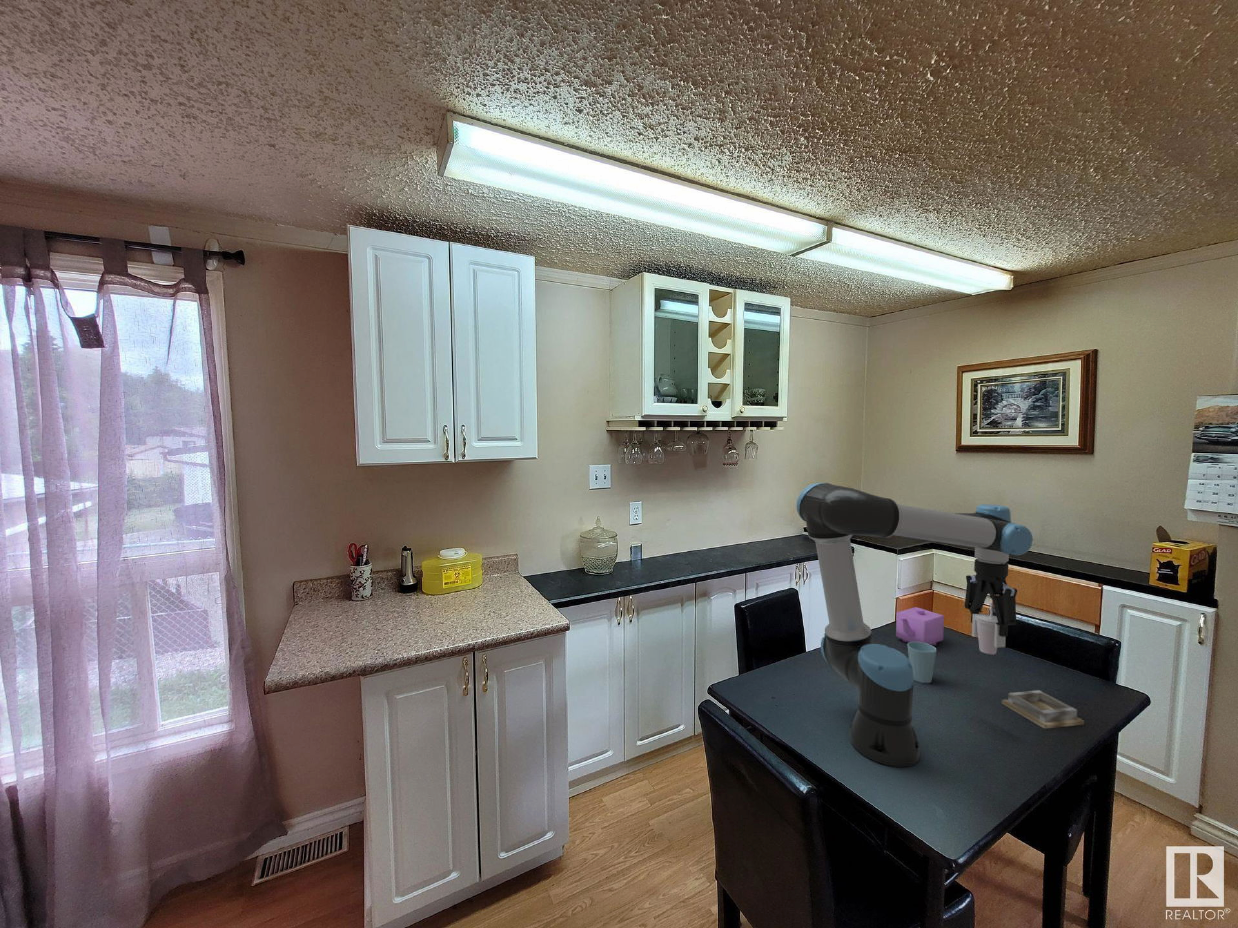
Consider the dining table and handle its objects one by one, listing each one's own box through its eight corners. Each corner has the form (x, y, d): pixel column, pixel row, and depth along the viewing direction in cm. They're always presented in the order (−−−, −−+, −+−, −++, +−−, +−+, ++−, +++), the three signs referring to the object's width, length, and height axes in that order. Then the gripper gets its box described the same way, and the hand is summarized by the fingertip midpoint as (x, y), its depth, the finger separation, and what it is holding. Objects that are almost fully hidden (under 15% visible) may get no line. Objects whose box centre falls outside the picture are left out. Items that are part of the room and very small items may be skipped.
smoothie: (990, 657, 131) (993, 607, 130) (968, 648, 137) (969, 600, 137) (1008, 654, 133) (1010, 605, 132) (984, 645, 139) (986, 597, 138)
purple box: (919, 632, 186) (920, 601, 185) (947, 642, 177) (948, 609, 176) (886, 643, 177) (887, 610, 176) (913, 654, 168) (914, 619, 167)
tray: (1044, 728, 125) (1045, 715, 125) (1001, 703, 137) (1002, 691, 137) (1083, 724, 127) (1084, 711, 126) (1038, 699, 138) (1038, 687, 138)
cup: (941, 681, 149) (942, 648, 148) (925, 687, 146) (925, 653, 145) (917, 671, 156) (918, 639, 155) (901, 676, 153) (902, 644, 152)
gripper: (1037, 569, 125) (1033, 655, 126) (973, 551, 144) (970, 627, 145) (1012, 570, 124) (1008, 657, 125) (950, 552, 143) (948, 628, 144)
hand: (988, 641), depth 135 cm, fingers closed on smoothie, 6 cm apart
